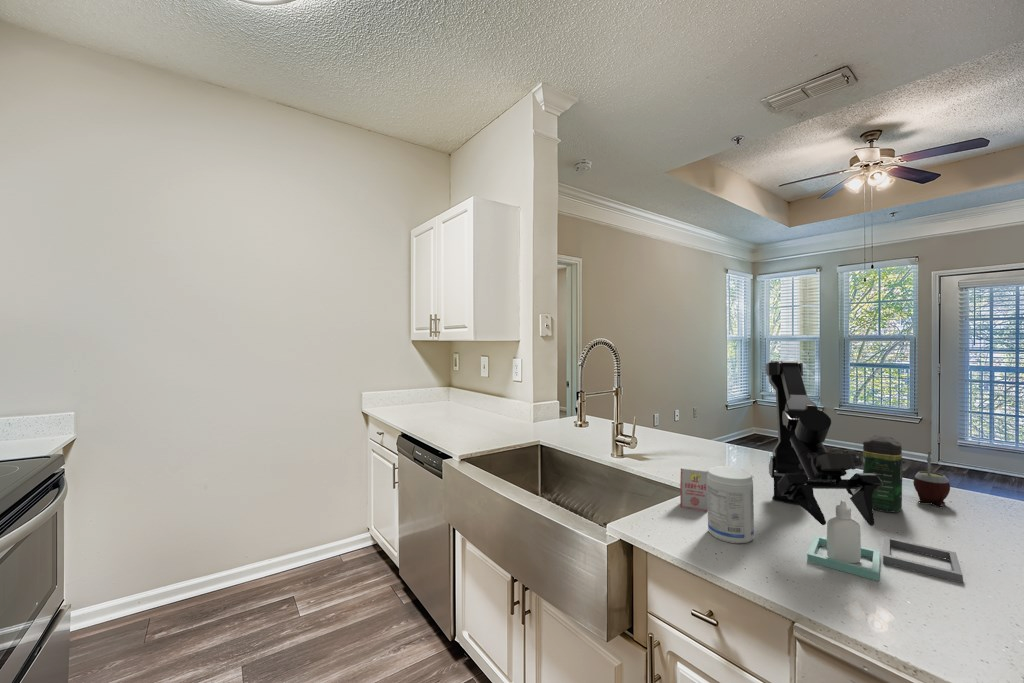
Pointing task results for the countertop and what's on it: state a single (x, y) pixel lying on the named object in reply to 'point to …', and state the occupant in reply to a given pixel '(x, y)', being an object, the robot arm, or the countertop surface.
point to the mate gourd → (931, 486)
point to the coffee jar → (884, 471)
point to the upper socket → (921, 567)
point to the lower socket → (845, 566)
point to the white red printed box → (693, 489)
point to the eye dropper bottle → (843, 536)
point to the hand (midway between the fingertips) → (848, 524)
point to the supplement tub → (730, 504)
